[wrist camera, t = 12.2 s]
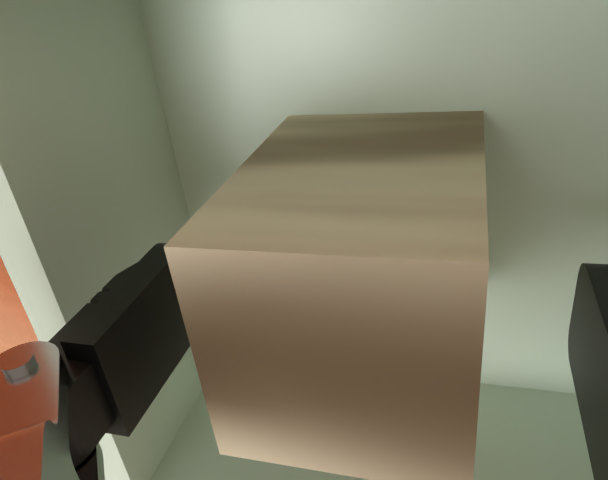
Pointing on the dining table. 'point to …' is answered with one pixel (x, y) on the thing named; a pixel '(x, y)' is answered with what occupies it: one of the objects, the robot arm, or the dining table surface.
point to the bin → (258, 127)
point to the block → (344, 295)
